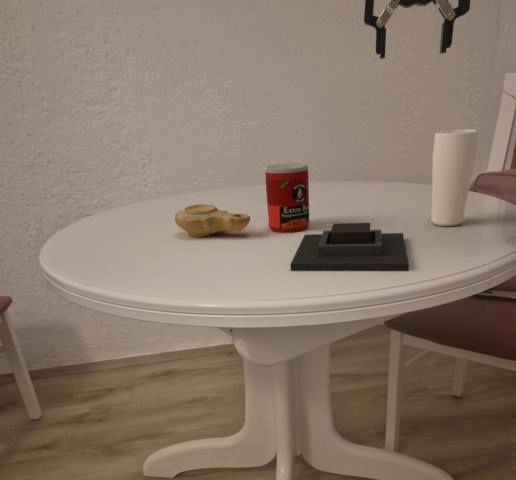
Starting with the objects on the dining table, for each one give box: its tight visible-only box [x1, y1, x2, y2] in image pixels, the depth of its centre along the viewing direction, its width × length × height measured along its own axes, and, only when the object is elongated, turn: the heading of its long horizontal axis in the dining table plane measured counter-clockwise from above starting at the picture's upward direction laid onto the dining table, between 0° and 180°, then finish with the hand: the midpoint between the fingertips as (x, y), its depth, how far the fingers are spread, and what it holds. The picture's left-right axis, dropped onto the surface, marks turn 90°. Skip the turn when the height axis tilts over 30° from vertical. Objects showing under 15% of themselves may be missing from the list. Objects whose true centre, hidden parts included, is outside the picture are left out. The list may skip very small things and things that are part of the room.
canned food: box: [264, 162, 310, 233], centre depth 88 cm, size 8×8×11 cm
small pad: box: [330, 222, 371, 244], centre depth 72 cm, size 6×6×3 cm
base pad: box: [290, 229, 410, 272], centre depth 73 cm, size 16×16×2 cm
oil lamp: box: [174, 204, 251, 238], centre depth 89 cm, size 11×14×5 cm
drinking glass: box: [430, 129, 479, 227], centre depth 82 cm, size 7×7×15 cm
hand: (412, 55), depth 71 cm, fingers open, 8 cm apart
